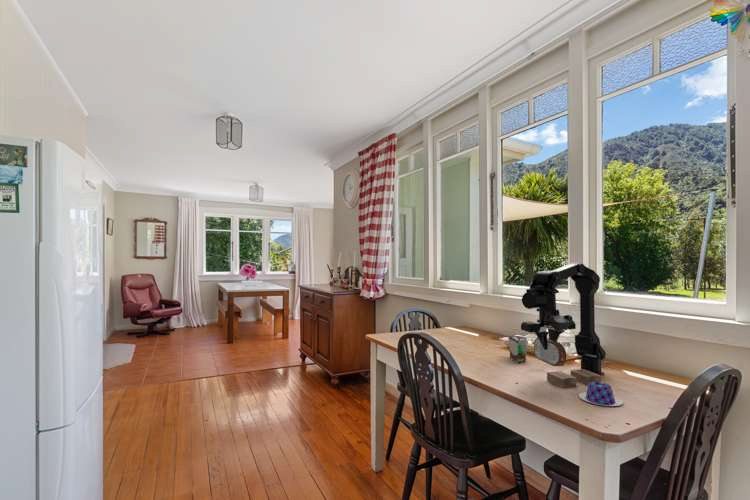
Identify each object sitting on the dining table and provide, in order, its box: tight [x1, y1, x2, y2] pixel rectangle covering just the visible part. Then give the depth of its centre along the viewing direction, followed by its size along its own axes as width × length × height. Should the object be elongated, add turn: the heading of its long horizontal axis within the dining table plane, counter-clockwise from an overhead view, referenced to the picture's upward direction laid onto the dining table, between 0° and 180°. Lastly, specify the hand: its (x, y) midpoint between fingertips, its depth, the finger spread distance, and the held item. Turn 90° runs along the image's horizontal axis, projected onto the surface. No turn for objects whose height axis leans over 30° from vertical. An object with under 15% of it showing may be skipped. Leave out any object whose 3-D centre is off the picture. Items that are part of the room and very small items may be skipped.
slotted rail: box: [546, 368, 602, 388], centre depth 134 cm, size 16×8×3 cm, turn 102°
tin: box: [533, 337, 567, 367], centre depth 133 cm, size 15×3×8 cm, turn 11°
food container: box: [508, 334, 529, 364], centre depth 164 cm, size 12×6×10 cm, turn 179°
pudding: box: [578, 381, 624, 407], centre depth 117 cm, size 12×12×5 cm
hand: (549, 349), depth 133 cm, fingers closed on tin, 3 cm apart
